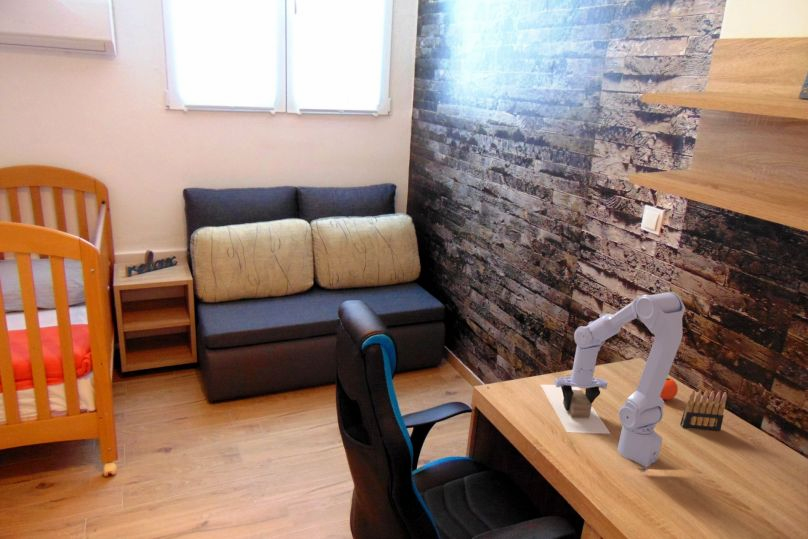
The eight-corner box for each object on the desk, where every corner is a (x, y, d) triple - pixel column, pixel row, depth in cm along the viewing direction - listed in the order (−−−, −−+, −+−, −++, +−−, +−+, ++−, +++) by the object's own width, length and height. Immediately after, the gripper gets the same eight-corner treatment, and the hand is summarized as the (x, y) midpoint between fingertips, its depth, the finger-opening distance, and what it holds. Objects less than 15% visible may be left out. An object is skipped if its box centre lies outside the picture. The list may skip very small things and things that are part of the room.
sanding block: (588, 419, 170) (591, 404, 168) (571, 418, 169) (574, 404, 168) (579, 404, 177) (581, 390, 176) (562, 403, 177) (565, 389, 175)
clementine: (646, 389, 192) (651, 369, 189) (668, 391, 192) (673, 371, 189) (655, 402, 184) (660, 382, 182) (678, 404, 184) (683, 384, 182)
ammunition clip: (717, 427, 173) (727, 390, 169) (720, 431, 171) (730, 393, 168) (679, 424, 173) (689, 387, 169) (682, 428, 171) (692, 390, 168)
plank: (609, 437, 164) (610, 433, 163) (566, 436, 163) (567, 432, 162) (577, 389, 188) (577, 385, 188) (539, 387, 187) (540, 384, 187)
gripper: (603, 360, 173) (595, 402, 177) (554, 358, 172) (547, 400, 176) (613, 372, 166) (604, 415, 171) (562, 370, 165) (554, 414, 169)
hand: (576, 409), depth 173 cm, fingers closed on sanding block, 5 cm apart
